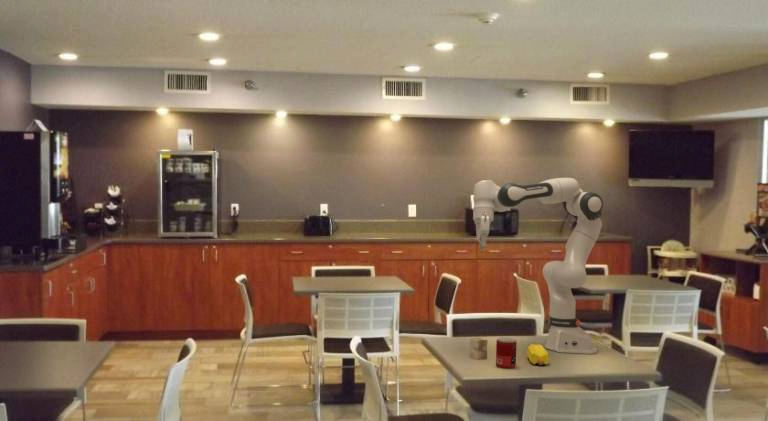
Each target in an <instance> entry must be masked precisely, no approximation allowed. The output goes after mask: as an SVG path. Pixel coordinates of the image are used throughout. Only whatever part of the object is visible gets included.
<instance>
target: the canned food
mask: <svg viewBox="0 0 768 421" xmlns="http://www.w3.org/2000/svg"><path fill="white" fill-rule="evenodd" d="M517 346H518V345H517V339H516V338H513V337H504V336H501V337H496V347H495V365H496V367H497V368H499V369H515V368H516V365H517Z"/></svg>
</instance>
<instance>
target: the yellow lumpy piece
mask: <svg viewBox="0 0 768 421" xmlns="http://www.w3.org/2000/svg"><path fill="white" fill-rule="evenodd" d="M526 356H527V357H528V359H529V362H530V363H531V364H532V365H533V366H535V365H536V364H537V365H538V366H542V365H544V366H547V365H548V364H549V363H550V357H549V353H548V351H547V348H546V347H543V345H541V344H533V343H531V344H530V345H529V346H528V347H527V352H526Z"/></svg>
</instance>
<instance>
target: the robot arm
mask: <svg viewBox="0 0 768 421" xmlns="http://www.w3.org/2000/svg"><path fill="white" fill-rule="evenodd" d="M473 188H474V189H473V208H472V213H473V214H472V220H473V222H474V225H475V231H476V232H475V234H476V240H477V242H478V243H479V250H480V251H484V249H485V247H486V246H487V237H488V236H489V234H490V226H491V222H493V221H494V216H495V215H494V214H495V212H498V213H503V212H506V211H509V210H510V209H511V208H513V207H516V206H517V205H519V204H521V203H522V202H524V201H527V200H534V199H535V200H536V199H538V200H539V201H540V202H541V203H542V204H544V205H555V204H558V203H559V204H560V203H562V206H563V210H564V212H566V213H567V214H568V215H570V216H572V217H577V223H576V225H575V227H574V229H573V230H572V233H571V234H570V236H569V237H568V239H567V242H566V243H565V246H564V248H565V249H564V250H565V256H564V259H563V261H561V260H551V261H549V262H546V263H545V264H544V266H543V268H542V277H543V278H544V279H545V280H544V281H545V282H546V284H547V287H548V288H547V290H548V293H549V299H550V300H549V301H550V303H549V309H550V310H549V317H548V335H547V340H546V343H545V347H544V348H545V349H546V350H547V349H548V350H551V351H555V352H558V353H568V354H583V355H584V354H586V355H588V354H589V355H593V354H596V353H597V352H598V348H597V347H596V346H593V341H592V337H591V335H590V334H589V333H588V332H586V331H585V330H584V329H583V328H581V327H580V324H581V321H580V319H579V318H577V317H576V305H577V302H576V298H575V297H574V295H573V293H572V292H573V291H572V289H579V288H581V287H583V285H585V283H586V281H587V279H588V278H587V271H586V267H587V266H586V265H587V261H588V259H589V257H590V256H589V255H590V253H591V251H592V249H593V248H594V246H595V244H596V242H597V240H598V238H599V236H600V233H601V230H602V227H603V221H602V220H601V218H600V217H601V215H602V210H603V207H604V201H603V198H602V196H600V195H599V194H598V193H595V192H592V191H590V192H589V191H581V188H580V184H579V182H578V180H577V179H575V178H573V177H555V178H550V179H546V180H542V181H541V182H539V183H531V184H525V185H524V184H522V185H521V184H517V183H513V182H509V183H508V182H507V183H505V184H504V185H503V186H501V187H500V186H498V185H497V184H496V183H495V182H494V181H493V180H492V179H481V180H479V181H478V182H476V183H475V185H474V187H473ZM494 211H495V212H494Z"/></svg>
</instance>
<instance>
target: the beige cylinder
mask: <svg viewBox="0 0 768 421" xmlns="http://www.w3.org/2000/svg"><path fill="white" fill-rule="evenodd" d="M469 347H470V348H469V350H470V351H469V357H470V358H471V359H473V360H476V361H480V360H487V359H488V339H486V338H483V337H473V338H470V346H469Z"/></svg>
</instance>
